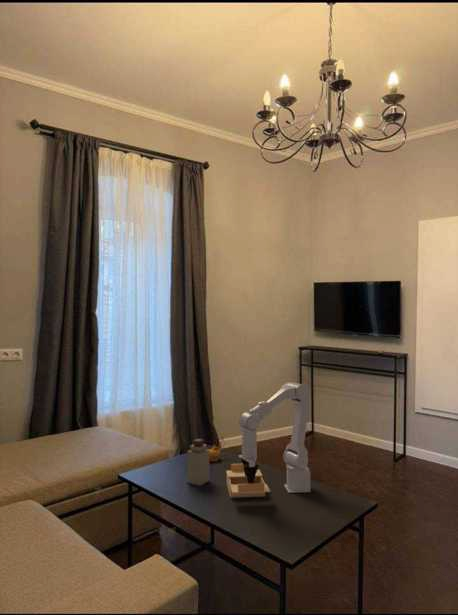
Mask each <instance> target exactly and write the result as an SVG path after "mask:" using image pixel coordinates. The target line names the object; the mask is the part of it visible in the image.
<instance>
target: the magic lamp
mask: <svg viewBox="0 0 458 615" xmlns="http://www.w3.org/2000/svg"><path fill="white" fill-rule="evenodd" d="M224 437H225V435H222V436H221V437H220V442H219V446H216V444H213V446H212V448H210V449H209V448H208V450H209V462H217V461H218V460H219V459H218V458H217V457H218V456H219V455H220V454H221V449H223V448H224V447H225V445H226V442H225V440H224V439H225V438H224ZM222 441H223V443H224V445H223V446H222V447H221V445H222ZM220 447H221V448H220Z"/></svg>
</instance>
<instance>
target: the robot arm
mask: <svg viewBox="0 0 458 615" xmlns="http://www.w3.org/2000/svg"><path fill="white" fill-rule="evenodd" d="M310 391H311V390H310V389H309V387H308V386H307V385H306V384H304V383H298V382H294V381H293V382H292V381H287V382H284V384H282V385H281V387H280V389H279V390H278V391H277V392H275V394H273V395H272V396H271V397H270V398H269V399H268V400H267V401H259V402H258V403H257V405H256V406H254V407H253V408H250V409H249V411H247V412H244V413H242V414H241V415H240V418H239V419H238V422H239V425H240V426H241V454H239V455H238V458H239V459H240V460H241V462H242V463H241V464H243V467H244V473H245V476H247V481H248V483H254V479H255V475H256V472H257V470H259V467H260V466H259V464H256V460H257V459H258V455H257V451H258V450H257V444H258V442H257V435H258V434H257V433H258V432H257V429H258V428H259V426H260V424H261V422H262V421H263V420H265V419H266V418H267V417H268V416H269V415H271V413H272V412H273V411H272V410H273V409H274V408H275V407H276V406H278V405H279V404H281V403H282V402H284V401H285V400H289V399H290V400H292V402H293V403H294V404H295V411H294V418H293V424H292V425H293V426H292V432H291V438H290V442H289V443H288V444H287V445H286V446H285V451H284V452H283V455H282V459H283V462H284V463H285V467H286V483H285V484H284V485H283V486H284V488H285V489H286V491H287V493H288V494H290V493H291V494H292V493H295V494H297V493H311V491H312V490H311V471H310V468H309V467H308V464H309V457H308V454H309V452H308V449H307V448H306V447H305V440H306V431H307V426H308V419H309V411H310V407H311V406H310V404H311V401H310V393H311V392H310Z"/></svg>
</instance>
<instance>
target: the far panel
mask: <svg viewBox="0 0 458 615" xmlns="http://www.w3.org/2000/svg"><path fill="white" fill-rule="evenodd" d="M230 465H231V466H230V468H231V469H230V470H225V472H226V477H227V476H228V478H231V477H247V476H245V473H244V467H243V463H231V464H230ZM260 476H262V477H263V474H262V472H261V470H260V469H257V472H256V475H255V477H260Z"/></svg>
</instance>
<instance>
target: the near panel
mask: <svg viewBox="0 0 458 615" xmlns="http://www.w3.org/2000/svg"><path fill="white" fill-rule="evenodd" d="M264 483H265V482H264ZM264 483H246V484H238V485H230V487H231V490H232V493H255V492H265V493H270V492H271V490H270V487H269V486H268V484H267V483H265V484H264Z"/></svg>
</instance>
